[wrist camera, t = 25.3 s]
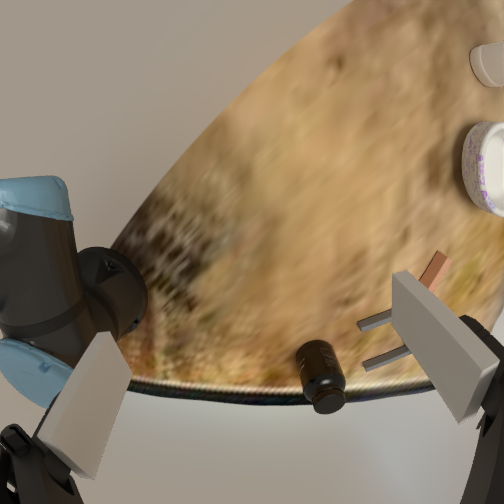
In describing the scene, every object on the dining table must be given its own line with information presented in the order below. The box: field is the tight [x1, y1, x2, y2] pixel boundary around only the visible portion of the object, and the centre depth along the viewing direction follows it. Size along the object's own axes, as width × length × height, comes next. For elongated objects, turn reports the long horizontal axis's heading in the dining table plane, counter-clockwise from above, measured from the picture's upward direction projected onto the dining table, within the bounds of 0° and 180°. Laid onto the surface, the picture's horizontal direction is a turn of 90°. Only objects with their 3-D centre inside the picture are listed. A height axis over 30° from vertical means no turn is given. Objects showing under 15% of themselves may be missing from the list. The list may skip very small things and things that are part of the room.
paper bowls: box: [462, 121, 504, 217], centre depth 34 cm, size 15×15×8 cm
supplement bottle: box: [296, 341, 346, 414], centre depth 43 cm, size 7×7×12 cm
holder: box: [358, 251, 452, 372], centre depth 45 cm, size 19×18×3 cm
